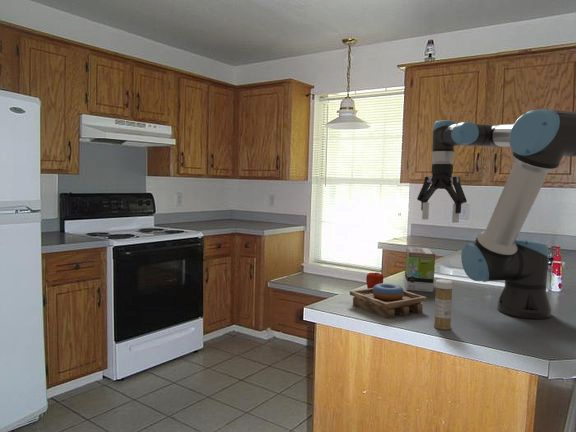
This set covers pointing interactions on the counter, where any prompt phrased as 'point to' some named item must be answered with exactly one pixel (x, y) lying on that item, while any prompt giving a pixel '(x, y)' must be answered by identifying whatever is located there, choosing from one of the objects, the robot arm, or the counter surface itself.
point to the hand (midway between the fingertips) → (439, 221)
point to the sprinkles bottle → (443, 304)
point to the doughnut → (388, 292)
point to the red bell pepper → (374, 279)
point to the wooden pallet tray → (387, 303)
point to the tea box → (419, 269)
